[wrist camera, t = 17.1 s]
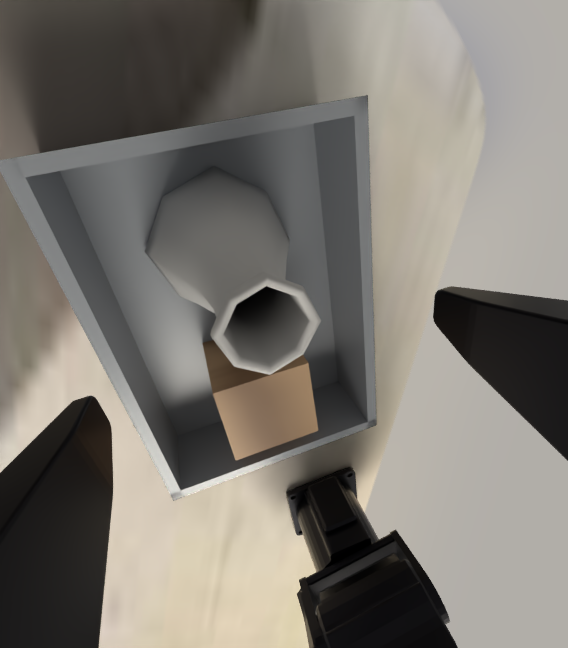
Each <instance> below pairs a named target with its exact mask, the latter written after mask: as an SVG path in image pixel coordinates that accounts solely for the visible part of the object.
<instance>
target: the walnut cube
mask: <svg viewBox="0 0 568 648" xmlns="http://www.w3.org/2000/svg"><path fill="white" fill-rule="evenodd" d="M202 344H203V348H204V353H205V358H206V363H207V368H208V373H209V378H210V382H211V387H212V392H213V396H214V399H215V402H216V405H217V407H218V410H219V413H220V416H221V419H222V422H223V425H224V428H225V431H226V434H227V437H228V440H229V443H230V446H231V449H232V451H233V454H234V457H235V460H239V459H242V458H245V457H247V456H250V455H253V454H256V453H258V452H261V451H264V450H267V449H269V448H272V447H275V446H278V445H281V444H283V443H286V442H289V441H292V440H294V439H297V438H300V437H303V436H305V435H308V434H311V433H314V432H316V431H318V424H317V418H316V411H315V404H314V397H313V391H312V384H311V377H310V370H309V363H308V362H307V360H306V359H305V357H304V355H301V356H300V357H298V358H297V359H295V360H293V361H292V362H290V363H289V364H287V365H285V366H284V367H282V368H281V369H279V370H277V371H276V372H274V373H272V374H271V375H268V374H264V373H260V372H255V371H251V370H246V369H242V368H238V367H234V366H233V365H232V363H231V362H230V361H229V359H228V358H227V357H226V356H225V354H224V353H223V352H222V350H221V349H220V348H219V347H218V345H217V344H216V343H215V341H214V340H211V341H207V342H204V343H202Z"/></svg>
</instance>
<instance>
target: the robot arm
mask: <svg viewBox="0 0 568 648" xmlns="http://www.w3.org/2000/svg"><path fill="white" fill-rule="evenodd" d="M433 318H434V322H435V324H436V325H437V327H438V328H439V329H440V330H441V332H442V333H443V334H444V335H445V336H446V338H447V339H448V340H449V341H450V342H451V343H452V345H453V346H454V347H455V348H456V350H457V351H458V352H459V353H460V354H461V355H462V357H463V358H464V359H465V360H466V361H467V362H468V364H469V365H470V366H471V367H472V368H473V369H474V370H475V371H476V372H477V373H479V375H481V376H482V378H483V379H484V380H486V381H487V382H488V383H489V384H490V385H491V386H492V387H493V388H494V389H495V390H496V391H497V392H498V393H499V394H500V395H501V396H502V397H503V398H504V399H505V400H506V401H507V402H508V403H509V404H510V405H511V406H512V407H513V408H514V409H515V410H516V411H517V412H518V413H520V414H521V416H522V417H523V418H524V419H526V420H527V421H528V422H529V423H530V424H531V425H532V426H533V427H534V428H535V429H536V430H537V431H538V432H539V433H540V434H541V435H542V436H543V437H544V438H545V439H546V440H547V441H548V442H549V443H550V444H551V445H552V446H553V447H554V448H555V449H556V450H557V451H558V452H559V453H560V454H562V456H564V457H565V458H566V459H567V460H568V301H567V300H559V299H550V298H542V297H534V296H525V295H517V294H510V293H501V292H493V291H485V290H477V289H469V288H461V287H447V288H444V289H441V290H438V291H437V292H436V294H435V301H434V314H433ZM112 499H113V464H112V433H111V425H110V422H109V420H108V418H107V416H106V415H105V413H104V411H103V409H102V408H101V406H100V404H99V403H98V401H97V399H96V398H95V397H93V396H88V397H84V398H81V399H78V400H75V401H73V402H72V403H71V404H70V405H69V406H67V407H66V408H65V409H64V410H63V411H62V412H61V413H60V414H59V415H58V416H57V417H56V418H55V419H54V420H53V421H52V422H51V423H50V424H49V425H48V426H47V427H46V428H45V429H44V430H43V431H42V432H41V433H40V434H39V435H38V436H37V437H36V438H35V439H34V440H33V441H32V442H31V443H30V444H29V445H28V446H27V447H26V448H25V449H24V450H23V451H22V452H21V453H20V454H19V455H18V456H17V457H16V458H15V459H14V460H13V461H12V462H11V463H10V464H9V465H8V466H7V467H6V468H5V469H4V470H3V471H2V472H1V473H0V648H98V647H99V637H100V626H101V616H102V605H103V594H104V584H105V573H106V563H107V552H108V542H109V531H110V520H111V510H112ZM287 500H288V504H289V508H290V512H291V516H292V520H293V524H294V528H295V531H296V534H297V535H303V536H304V538H305V541H306V544H307V547H308V549H309V552H310V555H311V558H312V561H313V563H314V566H315V569H316V573H314V574H312V575H310V576H309V577H307V578H306V577H304V578H302V579H300V580H299V582H300V586H301V589H300V591H299V592H298V593H297V596H298V599H299V603H300V606H301V609H302V613H303V617H304V621H305V626H306V631H307V637H308V642H309V648H458V647H457V645H456V643H455V641H454V639H453V637H452V636H451V634H450V632H449V630H448V628H447V627H446V625H445V624H447V623H449V621H450V620H449V616H448V614H447V611H446V609H445V606H444V604H443V603H442V600H441V598H440V596H439V595H438V593H437V591H436V589H435V587H434V585H433V584H432V582H431V580H430V579H429V577H428V576H427V574H426V573H425V571H424V570H423V568H422V567H421V565H420V564H419V563H418V561H417V560H416V558H415V557H414V555H413V554H412V552H411V551H410V550H409V548H408V547H407V545H406V544H405V542H404V541H403V539H402V538H401V536H400V535H399V534H398V532H397V531H396V530H394V531H392V532H390V534H389V535H387V536H385V537H383V538H381V539H378V537H377V535H376V533H375V532H374V530H373V528H372V526H371V524H370V522H369V521H368V519H367V517H366V515H365V513H364V511H363V509H362V508H361V506H360V504H359V502H358V500H357V492H356V479H355V472H354V470H353V469H352V468H347V469H344V470H342V471H339V472H337V473H334V474H332V475H329V476H327V477H324V478H321V479H319V480H316V481H314V482H311V483H309V484H306V485H304V486H301V487H298V488H296V489H293V490H291V491H289V492H288V493H287Z"/></svg>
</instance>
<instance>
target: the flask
mask: <svg viewBox="0 0 568 648" xmlns="http://www.w3.org/2000/svg"><path fill="white" fill-rule="evenodd" d="M289 241H290V239H289V237H288V235H287V233H286V231H285V229H284V227H283V224H282V222H281V220H280V218H279V216H278V214H277V212H276V210H275V208H274V206H273V204H272V202H271V200H270V198H269V196H268V194H267V192H266V191H264V190H262V189H260V188H258V187H256V186H254V185H252V184H250V183H248V182H245V181H243V180H241V179H239V178H237V177H235V176H233V175H231V174H229V173H227V172H225V171H223V170H221V169H219V168H217V167H215V166H213V167H211V168H209V169H208V170H206V171H205V172H203V173H201V174H200V175H198V176H196V177H195V178H193V179H191V180H190V181H188V182H186V183H185V184H183V185H181V186H180V187H178V188H176V189H175V190H173V191H171V192H170V193H168V194H166V195H165V196H163V197H162V200H161V203H160V206H159V209H158V212H157V215H156V219H155V222H154V225H153V228H152V231H151V234H150V237H149V240H148V243H147V246H146V249H145V253H146V254H147V255H148V257H149V258H150V259H151V260H152V262H153V263H154V264H155V266H156V267H157V268H158V270H159V271H160V272H161V273H162V275H163V276H164V277H165V279H166V280H167V281H168V282H169V284H170V285H171V286H172V288H173V289H174V290H175V291H176V293H177V294H178V295H179V296H181V297H183V298H185V299H187V300H190V301H192V302H194V303H197V304H199V305H200V306H202V307H204V308H206V309H208V310H209V311H211V312H213V313H215V315H216V320H215V322H214V325H213V327H212V330H211V333H210V335H211V337H212V339H213V340H214V341H215V343H216V344H217V345H218V347H219V348H220V349H221V350H222V352H223V353H224V354H225V356H226V357H227V358H228V359H229V361H230V362H231V363H232V365H233V366H234V367H238V368H242V369H246V370H251V371H255V372H260V373H264V374H268V375H271V374H272V373H274V372H276V371H277V370H279V369H281V368H282V367H284V366H285V365H287V364H289V363H290V362H292V361H293V360H295V359H297V358H298V357H300V356H301V355H303V354H304V352H305V350H306V349H307V347H308V345H309V343H310V341H311V339H312V337H313V335H314V333H315V331H316V330H317V328H318V326H319V324H320V322H321V319H320V317H319V316H318V314H317V312H316V310H315V308H314V306H313V304H312V302H311V300H310V298H309V296H308V294H307V292H306V290H305V289H304V287H303V286H301V285H298V284H295V283H293V282H290V281H287V280H286V279H285V276H286V261H287V254H288V248H289Z"/></svg>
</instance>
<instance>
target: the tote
mask: <svg viewBox="0 0 568 648" xmlns="http://www.w3.org/2000/svg"><path fill="white" fill-rule="evenodd" d="M213 166H215V167H217V168H219V169H221V170H223V171H225V172H227V173H229V174H231V175H233V176H235V177H237V178H239V179H241V180H243V181H245V182H248V183H250V184H252V185H254V186H256V187H258V188H260V189H262V190H264V191H266V192H267V194H268V196H269V198H270V200H271V202H272V204H273V206H274V208H275V210H276V212H277V214H278V216H279V218H280V220H281V222H282V224H283V227H284V229H285V231H286V233H287V235H288V237H289V239H290V241H289V248H288V254H287V261H286V276H285V279H286V280H287V281H290V282H293V283H295V284H298V285H301V286H303V287H304V289H305V290H306V292H307V294H308V296H309V298H310V300H311V302H312V304H313V306H314V308H315V310H316V312H317V314H318V316H319V317H320V319H321V322H320V324H319V326H318V328H317V330H316V331H315V333H314V335H313V337H312V339H311V341H310V343H309V345H308V347H307V349H306V350H305V352H304V354H303V355H304V357H305V359H306V360H307V362H308V363H309V370H310V377H311V384H312V391H313V397H314V404H315V411H316V418H317V424H318V431H316V432H314V433H311V434H308V435H305V436H303V437H300V438H297V439H294V440H292V441H289V442H286V443H283V444H281V445H278V446H275V447H272V448H269V449H267V450H264V451H261V452H258V453H256V454H253V455H250V456H247V457H245V458H242V459H239V460H235V457H234V454H233V451H232V449H231V446H230V443H229V440H228V437H227V434H226V431H225V428H224V425H223V422H222V419H221V416H220V413H219V410H218V407H217V405H216V402H215V399H214V396H213V392H212V387H211V382H210V378H209V373H208V368H207V363H206V358H205V353H204V348H203V344H202V343H204V342H207V341H211V340H213V339H212V337H211V335H210V333H211V330H212V327H213V325H214V322H215V320H216V315H215V313H213V312H211V311H209V310H208V309H206V308H204V307H202V306H200V305H199V304H197V303H194V302H192V301H190V300H187V299H185V298H183V297H181V296H179V295H178V294H177V293H176V291H175V290H174V289H173V288H172V286H171V285H170V284H169V282H168V281H167V280H166V279H165V277H164V276H163V275H162V273H161V272H160V271H159V270H158V268H157V267H156V266H155V264H154V263H153V262H152V260H151V259H150V258H149V257H148V255H147V254H146V253H145V249H146V246H147V243H148V240H149V237H150V234H151V231H152V228H153V225H154V222H155V219H156V215H157V212H158V209H159V206H160V203H161V200H162V197H163V196H165V195H166V194H168V193H170V192H171V191H173V190H175V189H176V188H178V187H180V186H181V185H183V184H185V183H186V182H188V181H190V180H191V179H193V178H195V177H196V176H198V175H200V174H201V173H203V172H205V171H206V170H208V169H209V168H211V167H213ZM0 172H1V174H2V175H3V177H4V179H5V181H6V183H7V185H8V187H9V189H10V191H11V193H12V194H13V196H14V198H15V200H16V202H17V204H18V206H19V208H20V210H21V212H22V213H23V215H24V217H25V219H26V221H27V223H28V225H29V227H30V229H31V231H32V233H33V234H34V236H35V238H36V240H37V242H38V244H39V246H40V248H41V250H42V252H43V253H44V255H45V257H46V259H47V261H48V263H49V265H50V267H51V269H52V271H53V272H54V274H55V276H56V278H57V280H58V282H59V284H60V286H61V288H62V290H63V291H64V293H65V295H66V297H67V299H68V301H69V303H70V305H71V307H72V309H73V310H74V312H75V314H76V316H77V318H78V320H79V322H80V324H81V326H82V328H83V329H84V331H85V333H86V335H87V337H88V339H89V341H90V343H91V345H92V347H93V349H94V350H95V352H96V354H97V356H98V358H99V360H100V362H101V364H102V366H103V368H104V369H105V371H106V373H107V375H108V377H109V379H110V381H111V383H112V385H113V387H114V388H115V390H116V392H117V394H118V396H119V398H120V400H121V402H122V404H123V406H124V407H125V409H126V411H127V413H128V415H129V417H130V419H131V421H132V423H133V425H134V426H135V428H136V430H137V432H138V434H139V436H140V438H141V440H142V442H143V444H144V445H145V447H146V449H147V451H148V453H149V455H150V457H151V459H152V461H153V463H154V465H155V466H156V468H157V470H158V472H159V474H160V476H161V478H162V480H163V482H164V484H165V485H166V487H167V489H168V491H169V493H170V495H171V497H172V499H173V501H174V500H177V499H179V498H182V497H185V496H187V495H190V494H193V493H195V492H198V491H201V490H204V489H206V488H209V487H212V486H214V485H217V484H220V483H222V482H225V481H228V480H230V479H233V478H236V477H238V476H241V475H244V474H247V473H249V472H252V471H255V470H257V469H260V468H263V467H265V466H268V465H271V464H273V463H276V462H279V461H281V460H284V459H287V458H290V457H292V456H295V455H298V454H300V453H303V452H306V451H308V450H311V449H314V448H316V447H319V446H322V445H324V444H327V443H330V442H332V441H335V440H338V439H341V438H343V437H346V436H349V435H351V434H354V433H357V432H359V431H362V430H365V429H367V428H370V427H373V426H375V425H376V388H375V351H374V313H373V276H372V238H371V201H370V164H369V126H368V95H366V96H361V97H355V98H349V99H344V100H338V101H333V102H327V103H321V104H316V105H310V106H304V107H299V108H293V109H287V110H282V111H276V112H270V113H265V114H259V115H253V116H248V117H242V118H237V119H231V120H225V121H220V122H214V123H208V124H203V125H197V126H191V127H186V128H180V129H174V130H169V131H163V132H157V133H152V134H146V135H140V136H135V137H129V138H124V139H118V140H112V141H107V142H101V143H95V144H90V145H84V146H78V147H73V148H67V149H61V150H56V151H50V152H44V153H39V154H33V155H28V156H22V157H16V158H11V159H5V160H0Z"/></svg>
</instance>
